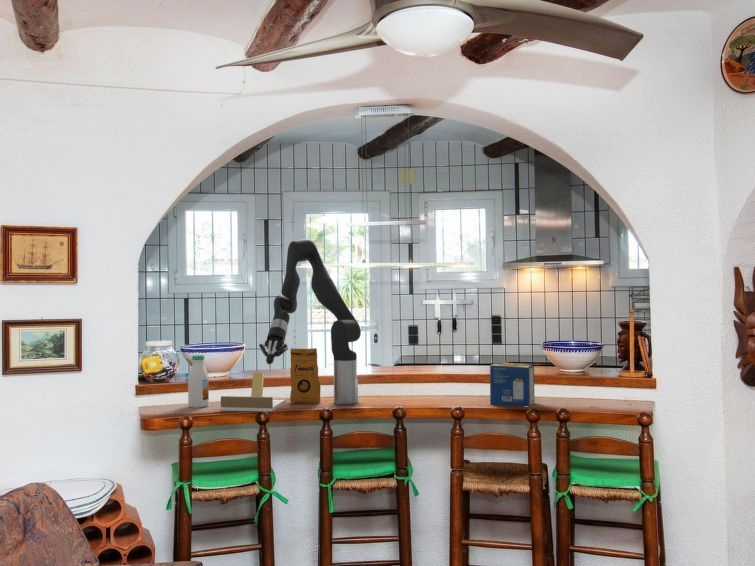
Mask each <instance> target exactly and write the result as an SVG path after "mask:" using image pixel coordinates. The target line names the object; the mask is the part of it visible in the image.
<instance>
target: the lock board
mask: <svg viewBox="0 0 755 566" xmlns="http://www.w3.org/2000/svg"><path fill="white" fill-rule="evenodd" d="M284 404H286V399H273V396H262V397H251V396H241V395H238V396H235V395H221V396H220V411H230V412H231V411H232V412H233V411H234V412H235V411H237V412H238V411H239V412H273V411H275V410H276V409H278V408H280V407H281V406H283V405H284Z"/></svg>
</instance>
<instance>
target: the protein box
mask: <svg viewBox="0 0 755 566" xmlns="http://www.w3.org/2000/svg"><path fill="white" fill-rule="evenodd" d="M489 381H490V382H489V390H490V392H489V404H490V405H492V404H494V405H495V406H504V405H505V406H504V407H507V406H508V407H517V406H529V407H531V406H532V405H533V404H535V403H536V402H535V364H534V363H516V362H515V363H513V362H498V361H497V362H495V363H492V364H490V365H489ZM530 405H531V406H530Z"/></svg>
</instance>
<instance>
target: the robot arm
mask: <svg viewBox="0 0 755 566" xmlns="http://www.w3.org/2000/svg"><path fill="white" fill-rule="evenodd" d="M286 252H287V255H286V264H285V276H284V278H283V279H284V280H283V283H282V286H281V290H280V291H281V292H280V293H281V294H279V295H277V296H276V297H275V298H274V300H273V310H274V311H273V312H274V314H273V317H272V322H271V324H270V326H269V328H268V333H267V336H266V339H265V341H264V343H259V345H258V346H259V349H260V350H261V352H262V354H263V355H264V357H266V359H265V361H266V363H267V365H272V364H273V363H274V360H275V358H276V357H280V356H282V355H283V354H284V353H286V351H288V350H289V348H288V345H287V343H285V339H286V336H287V333H288V326H289V322H290V320H291V319H290V318H291V317H290V314H294V313H295V312H296V311H297V308H298V297H297V295H298V291H299V287H300V284H301V280H300V279H301V278H300V275H299V273H298V270H297V264H298V263H299V262H300V263H301V262H307V261H308V262H309V263H310V266H311V268H312V276H311V281H310V282H311V283H310V285H311V289H312V292H313V293H314V296H315V297H316V300H318V302H319V303H320V304H321V306H323V307H324V308H325V309H327V310H328V311H329V312H330V313H332V314H333V316H334V317H335V318H336V320H335V321H334V322H333V323H332V325H331V328H330V342H331V343H330V344H331V347H330V348H331V353H332V355H333V403H334V404H337V405H352V404H353V405H355V404H356V403H358V401H359V378H358V375H357V372H358V371H357V366H358V365H357V363H358V362H357V361H358V360H357V352H356V351H353V350H352V349H351V348H350V343H353V342H356V341H358V340H359V339H360V337H361V333H362V330H361V327H360V325H359V322H358V320H357V319H356V318H355V316H354V315H353V313H352V312H351V311H350V309H349V307H348V306H347V305H346V303H345V301H344V299H343V298H342V296H341V294H340V293H339V290H338V288H337V286H336V284H335V282H334V281H333V279H332V278H331V276H330V274H329V273H328V270H327V268H326V267H325V264H324V262H323V260H322V258H321V255H320V251H319V250H318V248H317V246H316V244H315V243H314V240H312V239H310V238H304V239H296V240H292V241H291V242H290V243H289V245H288V247H287V251H286ZM266 348H267V350H266Z"/></svg>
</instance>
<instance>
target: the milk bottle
mask: <svg viewBox="0 0 755 566" xmlns="http://www.w3.org/2000/svg"><path fill="white" fill-rule="evenodd" d="M191 359H192V360H191V362H192V364H191V368H190V370H189V373H188V376H187V377H188V379H187V380H188V381H187V384H188V385H187V392H188V394H187V395H188V397H187V399H188V401H187V402H188V403H187V404H188V407H189V408H193V409H194V408H195V409H197V408H205V407H208V406H209V401H210V397H209V396H210V395H209V373H208V370H207V368H206V366H205V355H203V354H194V355H192V357H191Z"/></svg>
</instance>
